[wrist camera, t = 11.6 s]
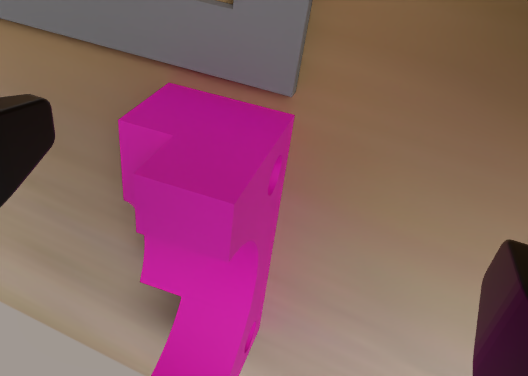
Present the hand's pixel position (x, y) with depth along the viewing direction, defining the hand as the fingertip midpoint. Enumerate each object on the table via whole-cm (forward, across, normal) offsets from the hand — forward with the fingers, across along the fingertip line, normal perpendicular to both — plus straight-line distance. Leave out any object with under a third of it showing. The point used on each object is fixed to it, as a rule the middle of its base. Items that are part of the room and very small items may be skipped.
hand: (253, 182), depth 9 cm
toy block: (+12, +5, +12) cm, 18 cm away
